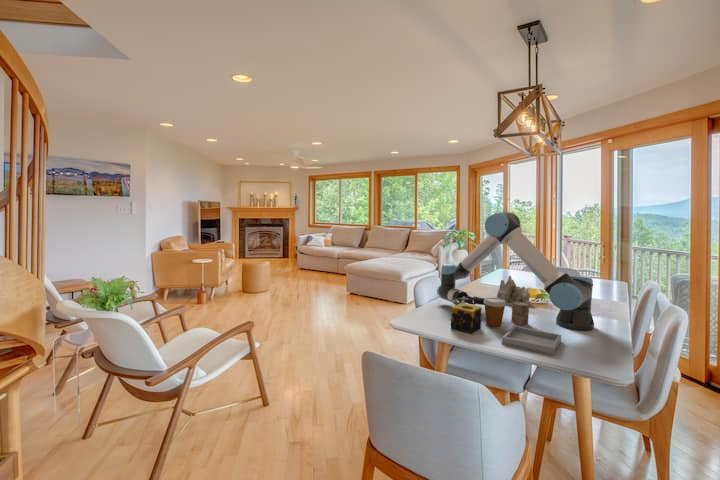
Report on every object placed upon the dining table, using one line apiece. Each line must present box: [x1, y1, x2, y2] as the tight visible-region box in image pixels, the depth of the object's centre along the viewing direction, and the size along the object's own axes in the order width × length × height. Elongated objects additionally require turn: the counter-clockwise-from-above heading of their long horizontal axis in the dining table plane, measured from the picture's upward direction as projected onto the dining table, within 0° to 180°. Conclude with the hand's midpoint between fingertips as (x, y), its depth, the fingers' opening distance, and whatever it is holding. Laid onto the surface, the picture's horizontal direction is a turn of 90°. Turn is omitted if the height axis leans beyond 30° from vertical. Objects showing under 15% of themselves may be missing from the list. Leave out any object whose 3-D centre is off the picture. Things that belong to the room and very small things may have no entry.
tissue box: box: [450, 303, 483, 335], centre depth 161 cm, size 10×10×10 cm
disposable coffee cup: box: [484, 296, 507, 329], centre depth 166 cm, size 10×10×12 cm
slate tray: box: [501, 325, 562, 357], centre depth 146 cm, size 18×18×3 cm
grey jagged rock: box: [495, 275, 531, 306], centre depth 208 cm, size 16×16×15 cm
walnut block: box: [510, 302, 530, 326], centre depth 171 cm, size 5×5×9 cm
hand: (485, 308), depth 170 cm, fingers open, 13 cm apart
